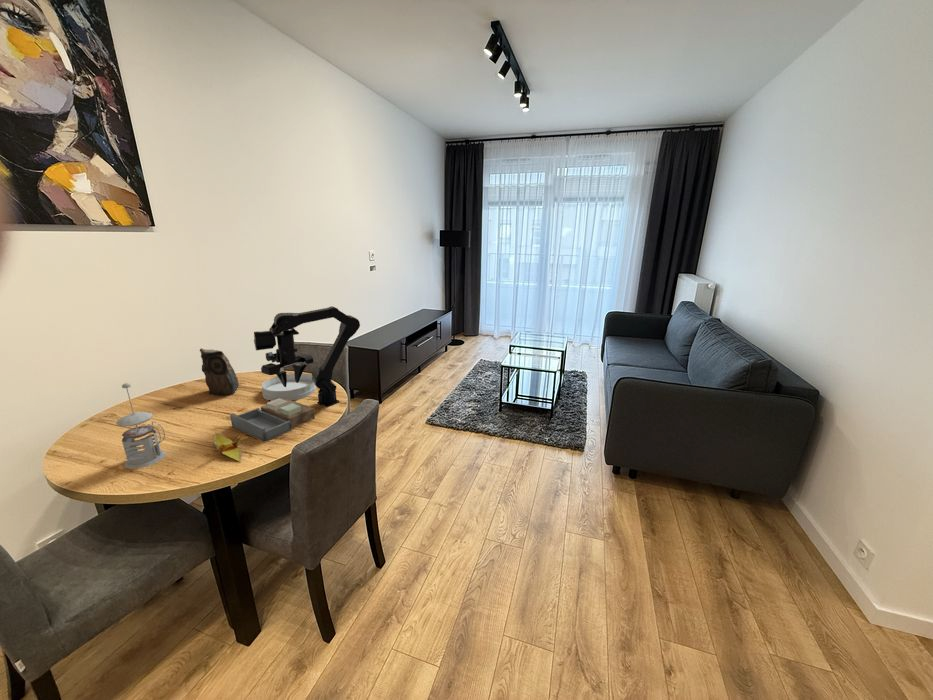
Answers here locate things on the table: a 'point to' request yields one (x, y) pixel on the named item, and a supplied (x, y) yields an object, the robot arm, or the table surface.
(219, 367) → the owl
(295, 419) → the taupe pedestal platform
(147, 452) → the french press
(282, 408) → the sage tile
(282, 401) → the cream tile
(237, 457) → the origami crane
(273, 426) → the box
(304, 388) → the dish
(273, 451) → the table surface
